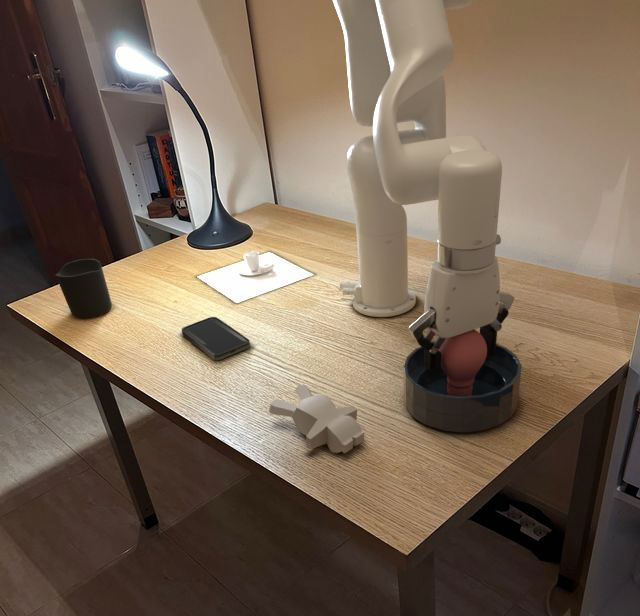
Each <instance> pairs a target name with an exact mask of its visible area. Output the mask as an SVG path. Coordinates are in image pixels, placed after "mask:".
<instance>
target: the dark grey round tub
mask: <svg viewBox="0 0 640 616" xmlns="http://www.w3.org/2000/svg"><path fill="white" fill-rule="evenodd" d="M431 342H432V343H433V342H434V340H432V341H431ZM522 366H523V365H522V363H521V361H520V360H519V357H518V356H517V355H516V354H515V353H514V352H512V350H510V349H509V348H507V347H505V346H504V345H502V344H499V343H497V342H496V350H495V355H493V356H489V355H488V354H487V356H486V359H485V361H484V363H483V365H482V366H481V368H480V370H479V371H478V372H477V374H476V375H475V377H474V378H475V379H474V383H473V384H472V385H473V389H472V395H471V396H454V395H448V392H447V383H448V381H447V377H448V376H447V374H446V373H445V371H444V369H443V368H442V366H441V374H440V375H439V376H435V375H434V374H432V373H431V372H430V371H429V370H427V369H426V368H425V366H424V348H423V347H422V346H420V345H419V347H416V348H415V349H413V350H412V351H411V352H410V353H409V354H408V355H407V356H406V357H405V360H404V364H403V366H402V367H403V369H402V370H403V400H404V404H405V409H406V410H407V411H408V413H409V414H410V415H411V416H412V417H413V418H414V419H415V420H417V421H419V422H420V423H422V424H423V425H425V426H427V427H431V428H434V429H437V430H441V431H444V432H445V431H446V432H454V433H471V432H472V433H473V432H483V431H485V430H488V429H491V428H496V427H498V426H500V425H502V424H503V423H504V422H506V421H508V420H510V419H511V417H512V416H513V415H514V414H515V412H516V411H517V409H518V403H519V394H520V385H521V384H520V383H521V375H522Z"/></svg>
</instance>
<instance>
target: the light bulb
mask: <svg viewBox="0 0 640 616" xmlns="http://www.w3.org/2000/svg"><path fill="white" fill-rule="evenodd" d="M439 351H440V352H441V366H442V368H443V369H444V371H445V373H446V374H447V376H448V377H447V381H448V383H447V392H448V395H454V396H471V395H472V389H473V385H472V384H473V383H474V379H475V378H474V377H475V375H476V374H477V372H478V371H479V370H480V368H481V366H482V365H483V363H484V361H485V359H486V356H487V345H486V342H485V340H484V338H483V336H482V335H481V334H480V331H478V330H477V329H474V330H471V331H468V332H465V333H462V334H459V335H457V336H454V337H450V338H446V339H445V341H444V342H443V344H442V345H441V347H440V348H439Z"/></svg>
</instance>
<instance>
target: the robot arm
mask: <svg viewBox="0 0 640 616" xmlns="http://www.w3.org/2000/svg"><path fill="white" fill-rule="evenodd" d="M474 1H475V0H332V2H333V5H334V8H335V10H336V13H337V16H338V19H339V21H340V24H341V28H342V31H343V37H344V45H345V57H346V71H347V80H348V83H347V84H348V93H349V94H348V95H349V103H350V104H349V105H350V108H351V114H352V117H353V119H354V121H355V122H356V123H357V124H358V125H360V126H362V127H368V128H369V127H372V135H369V136H368V135H367V136H365V137H362V138H360V139H357V140H356V141H355V142H354V143H352V144H351V145H350V147H349V148H348V149H347V153H346V169H347V175H348V180H349V185H350V189H351V193H352V199H353V207H354V218H355V220H354V221H355V229H356V230H355V232H356V233H355V234H356V250H357V262H358V263H357V265H358V266H357V267H358V280H357V279H356V280H355V281H348V280H341V281H340V282H339V290H340V291H341V292H342V296H353V299H352V306H353V308H354V310H356V311H357V312H358V313H359V314H362V315H365V316H368V317H374V318H388V317H395V316H399V315H403V314H404V313H407V312H409V311H411V309H413V308H414V307H415V305H416V303H417V296H416V293H415V292H414V291H413V290H412V289H409V265H408V263H409V261H408V259H409V258H408V216H407V212H406V210H405V207H404V206H409V205H416V204H420V203H421V204H422V203H427V202H432V201H438V205H437V207H438V208H437V209H438V210H437V215H438V216H437V249H436V262H433V263H432V264H431V266H430V270H429V273H428V278H427V282H426V288H425V294H424V295H425V296H424V306H423V314H422V315H421V316H420V317H419V318H418V319H417V320H415V321H414V322H413V323H411V324H410V325H409V327H408V328H407V330H408V331H407V332H408V333H409V334H410V336H411V338H412V339H413V341H414V342H415V343H416V344H418V345H419V347H420V346H422V347H423V348H424V366H425V368H426V369H427V370H429V371H430V372H431V373H432V374H434V375H435V376H439V375H440V374H441V352H440V351H439V348H440V347H441V345H442V344H443V342H444V341H445V339H446V338H450V337H454V336H457V335H459V334H462V333H465V332H468V331H471V330H477V329H479V333H480V334H481V335H482V336H483V338H484V340H485V342H486V345H487V354H488V355H489V356H493V355H495V350H496V343H497V340H498V338H497V337H498V332H499V331H501V330H502V328H503V324H502V323H504V321H505V320H506V318H507V317H508V316H509V313H510V312H509V310H511V307H512V305H513V303H514V302H515V296H514V295H512V294H510V293H508V292H504V291H501V281H500V280H501V279H500V278H501V277H500V268H499V267H500V266H499V261H498V257H497V256H496V250H497V249H496V247H497V246H498V245H500V244H501V242H502V238H501V235H500V234H498V223H499V211H500V201H501V200H500V199H501V187H502V174H503V163H502V160H501V159H500V157H499V156H498V155H497V154H496V153H494V152H491V151H488V150H487V148H486V146H485V145H484V143H483V142H482V140H481V139H479V138H478V136H475V135H471V134H462V135H454V136H448V137H447V96H446V95H447V93H446V83H445V82H446V81H445V78H444V73H446V71H448V69H449V68H450V66H451V65H452V63H453V60H454V56H455V49H454V48H455V47H454V45H453V40H452V35H451V31H450V27H449V23H448V17H447V14H446V11H450V10H452V11H453V10H458V9H463V8H464V9H465V8H467V7H468V6H470V5H471V4H472V3H474ZM407 122H413V124H414V128H411V129H405V130H399V129H398V124H400V123H407ZM426 329H427V331H426V333H425V334H424V331H425V330H426ZM436 335H437V336H436ZM435 336H436V337H435ZM434 338H435V339H434ZM433 339H434V340H433ZM433 341H434V342H433ZM432 342H433V343H432Z"/></svg>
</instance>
